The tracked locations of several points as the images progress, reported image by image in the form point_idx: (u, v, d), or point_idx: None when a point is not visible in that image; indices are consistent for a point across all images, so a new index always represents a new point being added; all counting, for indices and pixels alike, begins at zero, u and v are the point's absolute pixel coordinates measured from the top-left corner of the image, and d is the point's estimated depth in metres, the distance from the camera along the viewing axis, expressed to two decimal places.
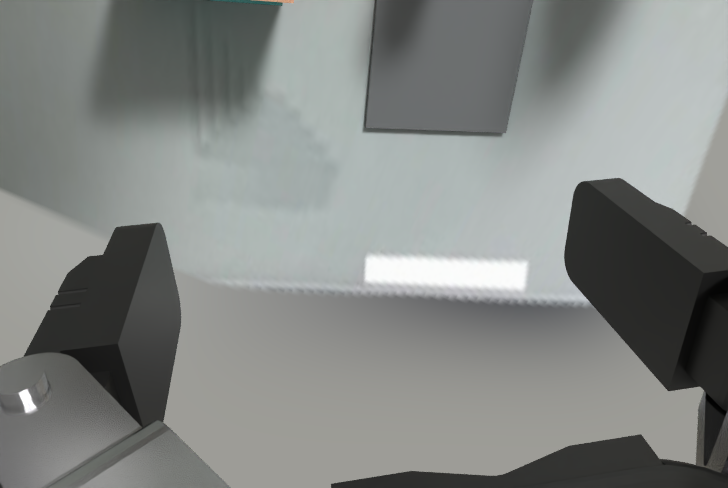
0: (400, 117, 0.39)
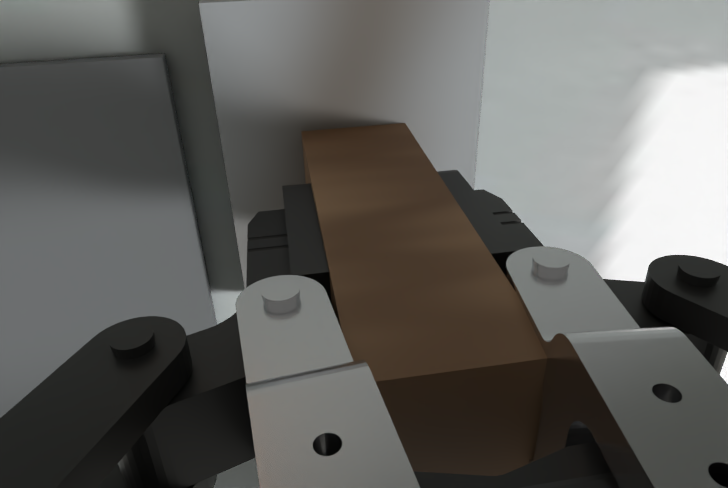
0: None
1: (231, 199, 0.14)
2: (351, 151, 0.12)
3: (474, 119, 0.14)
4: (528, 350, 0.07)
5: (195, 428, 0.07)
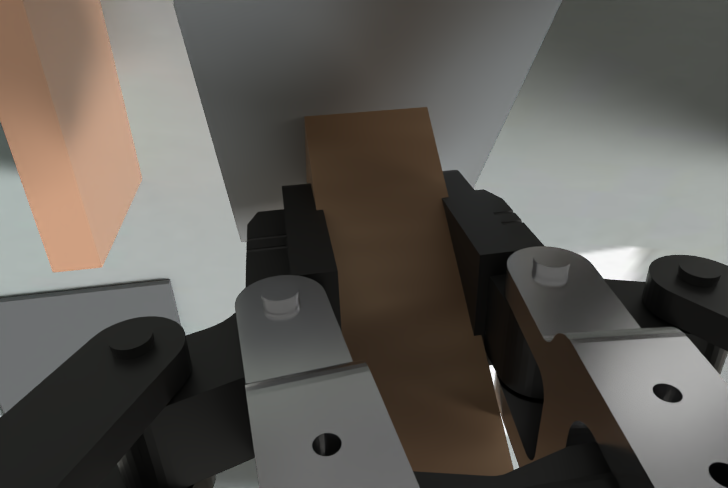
0: None
1: (221, 168, 0.12)
2: (364, 175, 0.11)
3: (507, 102, 0.12)
4: None
5: (194, 428, 0.07)
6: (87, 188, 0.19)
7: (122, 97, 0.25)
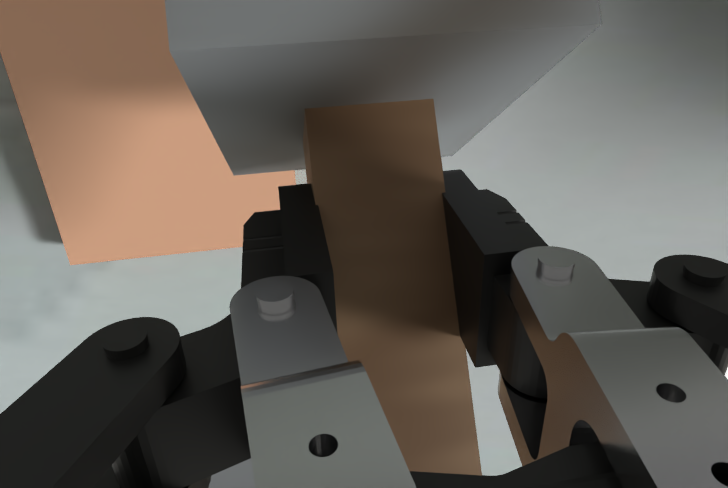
0: None
1: (216, 139, 0.12)
2: (365, 180, 0.11)
3: (517, 93, 0.11)
4: None
5: (189, 429, 0.07)
6: (73, 194, 0.19)
7: None
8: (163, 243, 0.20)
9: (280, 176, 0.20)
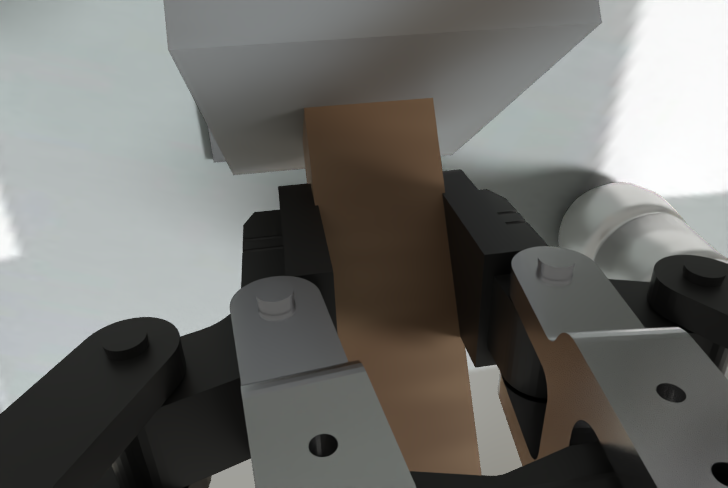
0: None
1: (215, 138, 0.12)
2: (364, 179, 0.11)
3: (517, 92, 0.11)
4: None
5: (189, 429, 0.07)
6: None
7: None
8: None
9: None
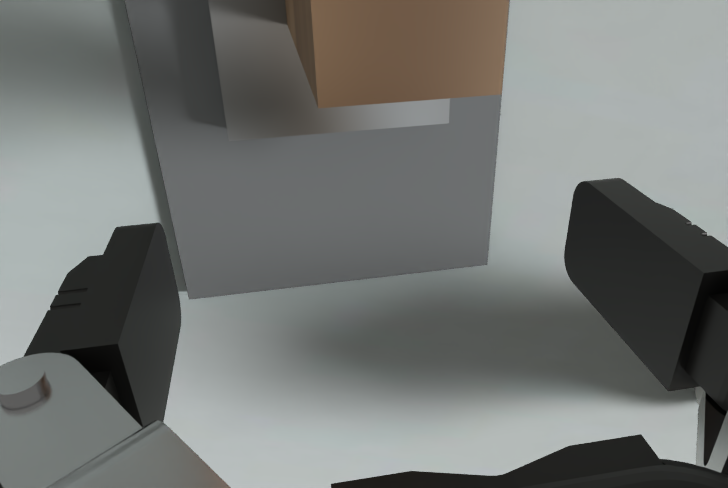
0: (166, 48, 0.15)
1: None
2: None
3: None
4: None
5: None
6: None
7: None
8: None
9: None
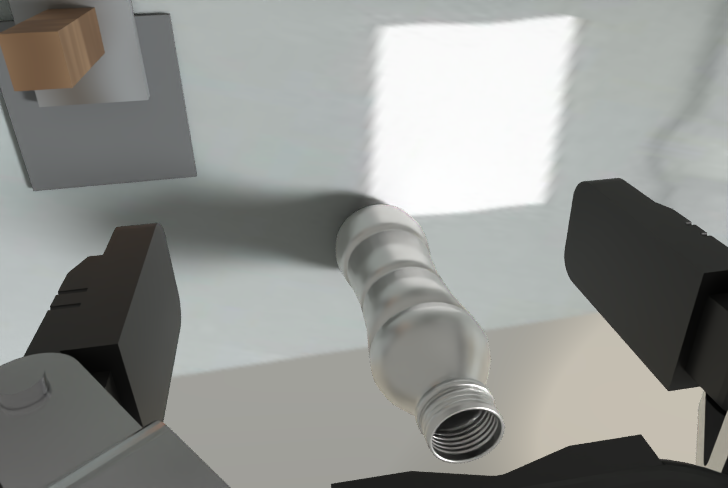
0: None
1: None
2: (59, 12, 0.30)
3: (127, 7, 0.32)
4: (51, 30, 0.25)
5: None
6: None
7: None
8: None
9: None
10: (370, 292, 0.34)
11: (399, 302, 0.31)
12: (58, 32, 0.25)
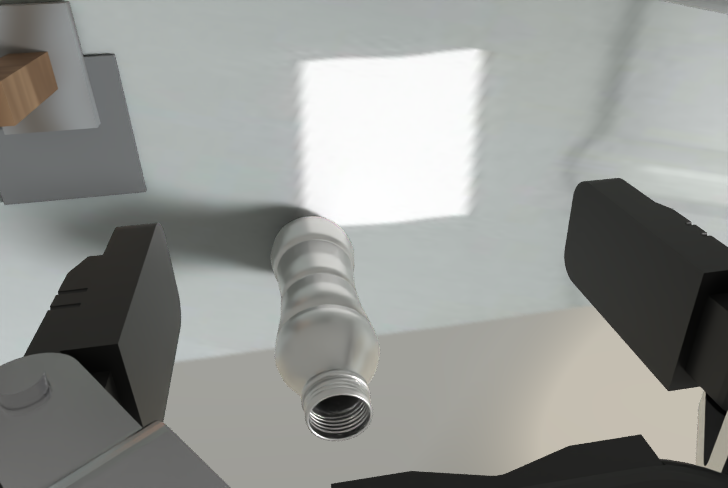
0: None
1: None
2: (15, 57, 0.36)
3: (75, 50, 0.38)
4: None
5: None
6: None
7: None
8: None
9: None
10: (285, 295, 0.39)
11: (300, 304, 0.36)
12: (1, 81, 0.31)
